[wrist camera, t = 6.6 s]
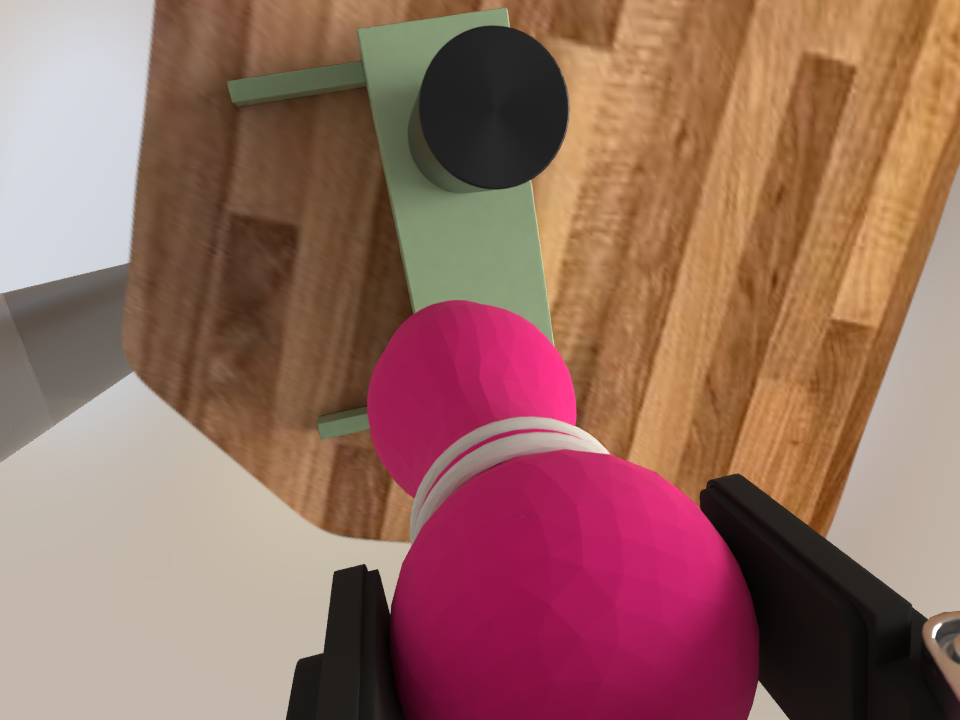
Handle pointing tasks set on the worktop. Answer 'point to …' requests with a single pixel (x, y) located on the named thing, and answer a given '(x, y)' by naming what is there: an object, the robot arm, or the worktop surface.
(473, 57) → the spice tin
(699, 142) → the worktop surface
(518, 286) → the riser
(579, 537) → the pepper mill
